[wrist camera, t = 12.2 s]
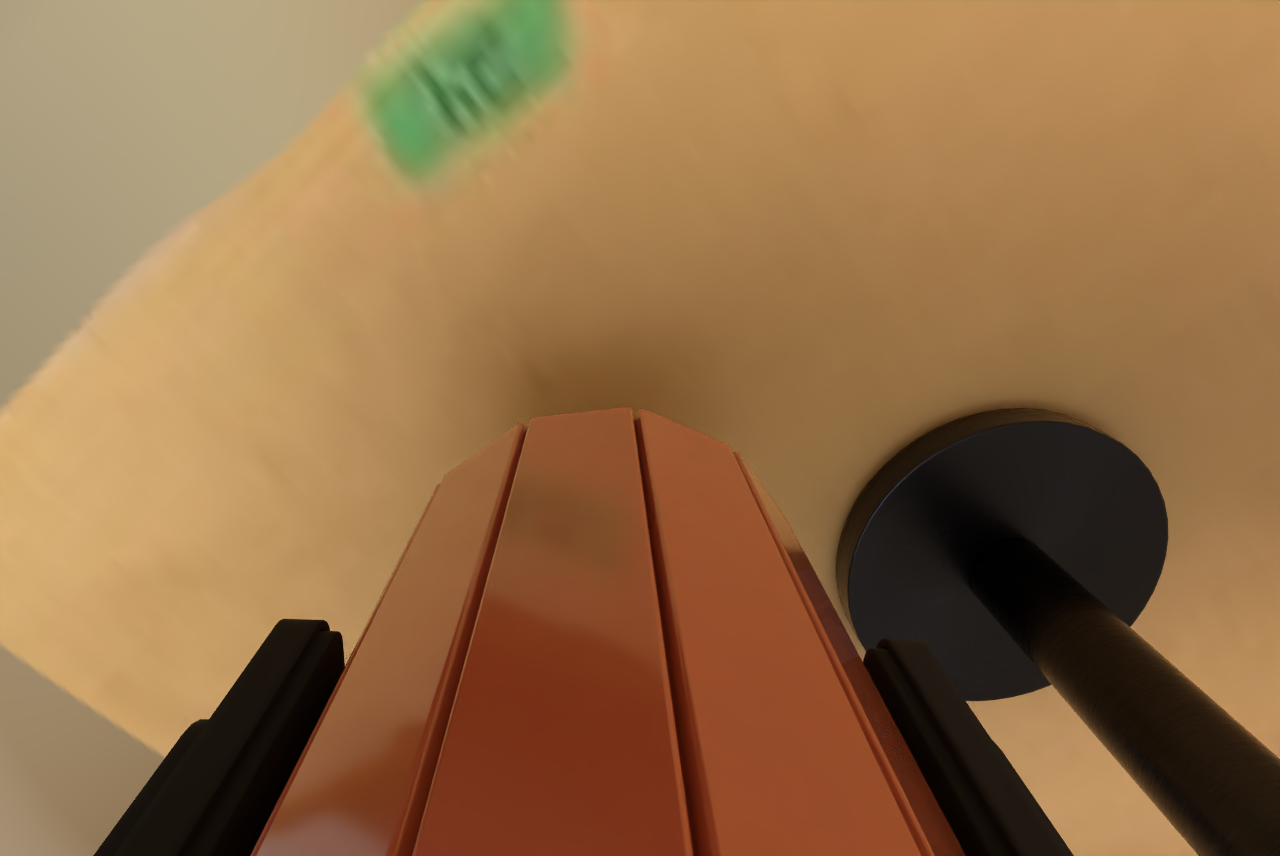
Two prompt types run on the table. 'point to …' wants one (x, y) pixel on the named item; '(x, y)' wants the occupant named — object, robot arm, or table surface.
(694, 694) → the cup
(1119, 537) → the bowl
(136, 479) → the table surface
